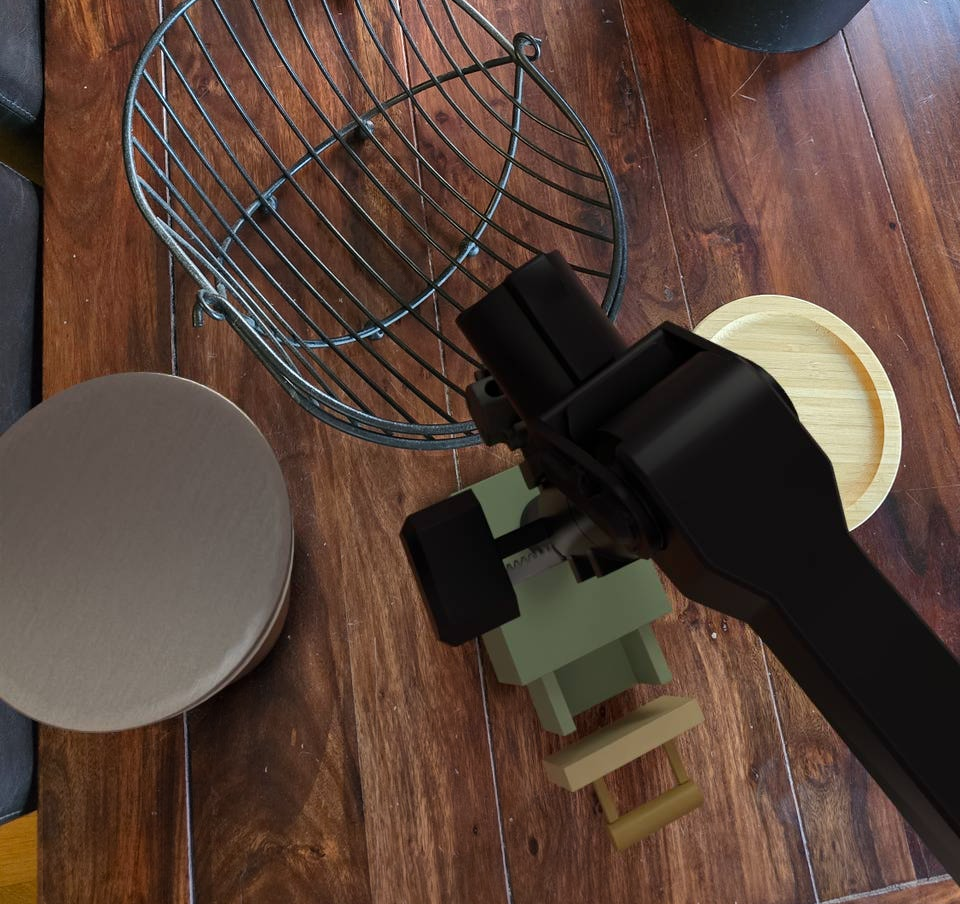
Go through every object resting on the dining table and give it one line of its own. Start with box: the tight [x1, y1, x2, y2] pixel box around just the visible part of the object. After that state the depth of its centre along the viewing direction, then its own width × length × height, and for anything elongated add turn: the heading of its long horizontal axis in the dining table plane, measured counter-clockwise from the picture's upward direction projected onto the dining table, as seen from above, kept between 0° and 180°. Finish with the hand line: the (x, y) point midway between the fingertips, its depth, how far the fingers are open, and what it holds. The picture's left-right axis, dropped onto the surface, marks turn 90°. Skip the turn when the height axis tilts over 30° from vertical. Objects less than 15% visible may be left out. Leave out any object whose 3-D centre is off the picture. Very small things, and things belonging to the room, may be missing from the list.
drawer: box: [525, 622, 706, 854], centre depth 66 cm, size 13×8×6 cm, turn 23°
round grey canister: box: [0, 371, 295, 734], centre depth 52 cm, size 10×10×40 cm
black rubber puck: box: [520, 495, 551, 554], centre depth 65 cm, size 4×4×2 cm
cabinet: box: [447, 464, 674, 687], centre depth 69 cm, size 11×10×8 cm
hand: (557, 524), depth 65 cm, fingers open, 9 cm apart
